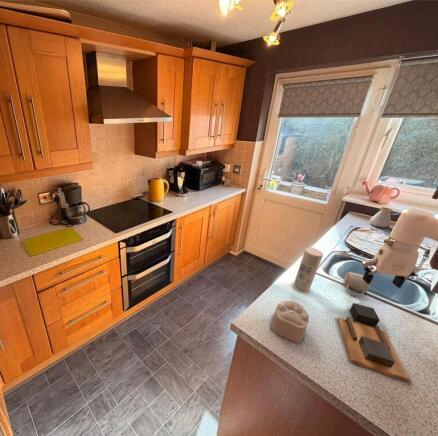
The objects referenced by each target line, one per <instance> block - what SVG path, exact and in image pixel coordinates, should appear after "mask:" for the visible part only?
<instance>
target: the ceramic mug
mask: <svg viewBox="0 0 438 436" xmlns="http://www.w3.org/2000/svg"><path fill="white" fill-rule="evenodd" d="M363 276H364V274H360V273H355V272H352V271H351V272H350V271H347V272H346V273H345V275H344V277H343V281H342V284H343V286H344V287H345V289H346V292H347V293H348V294H350V295H351V296H353V297H362V296H363V295H364V294H366V293H367V292H368V291H369V289H370V285H371V283H370V284H367V283H366V282H365V281H364V280H363ZM350 289H351V290H354V291H357V292H360V293H357V294H356V293H354V292H352V291H351V290H350Z"/></svg>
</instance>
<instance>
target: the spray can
mask: <svg viewBox="0 0 438 436" xmlns="http://www.w3.org/2000/svg"><path fill="white" fill-rule="evenodd" d="M323 256H324V253H323V252H322V251H321V250H319V249H317V248H315V247H305V249H304V252H303V254H302V258H301V261H300V264H299V267H298V270H297V274H296V276H295V279H294V282H293V287H294V289H295V290H297V291H298V292H301V293H308V292H309V291H310V289H311V286H312V284H313V282H314V279H315V276H316V274H317V271H318V268H319V267H320V264H321V261H322V259H323Z"/></svg>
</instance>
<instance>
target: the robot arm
mask: <svg viewBox="0 0 438 436" xmlns="http://www.w3.org/2000/svg"><path fill="white" fill-rule="evenodd" d="M400 213H401V214H399V217H398V218H397V221H396V222H395V224H394V226H393V228H392V231H391V232H390V234H389V236H388V238H387V239H384V240H383V244H382V245H381V246H380V248H379V249H378V250H377V252H376V253H375V254H374V256H373V257H372V259H366V260H362V261H361V266H362V269H363V270H364V271H365V272H364V274H363V275H364V276H363V280H364V281H365V282H366V283H367V284H370V285H371V283H372V281H373V279H374V277H375V276H374V275H375V274H377V273H379V274H381V275H390V276H394V278H393V280H392V281H391V282H392V284H393V285H394V286H395V287H396V288H398V289H401V288H402V286H403V285H404V283H405V281H406V280H409V279H410V278H411V277H414V276H415V275H416V274H417V273H419V272H420V271H421V268H419V267H418V266H417V262H418V259H419V254H420V251H419V249H420V247H421V245H422V243H423V241H424V240H425V238H428V239H431V240H433V241H435V242H438V214H436V215H434V214H433V213H432V212H429V211H426V210H421V209H417V208H407V209H403V210H402V211H401V212H400Z"/></svg>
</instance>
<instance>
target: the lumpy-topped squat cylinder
mask: <svg viewBox="0 0 438 436" xmlns="http://www.w3.org/2000/svg"><path fill="white" fill-rule="evenodd" d="M309 322H310V319H309V314H308V312H307V311H306V309H305V308H304V307H303V306H302V305H301V304H299V303H298V302H296V301H292V300H283V301H280V302H278V303H277V304H276V307H275V311H274V314H273V317H272V321H271V330H272V331H273V332H274V333H275V334H276V335H278V336H281V337H283V338H286V339H288V340H289V341H291V342H293V343H300V342H301V341H302V340H303V337H304V335H305V332H306V330H307V328H308V325H309Z"/></svg>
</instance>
